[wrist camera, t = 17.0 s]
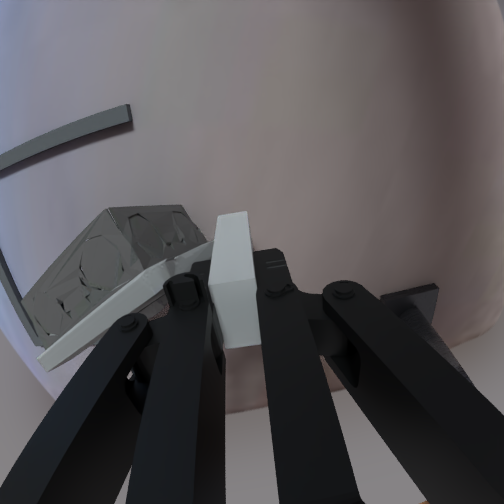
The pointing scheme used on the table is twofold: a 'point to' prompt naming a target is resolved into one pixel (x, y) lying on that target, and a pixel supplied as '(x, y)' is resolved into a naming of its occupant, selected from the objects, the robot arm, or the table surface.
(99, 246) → the electrical switch
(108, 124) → the bay
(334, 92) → the table surface
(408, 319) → the mast
